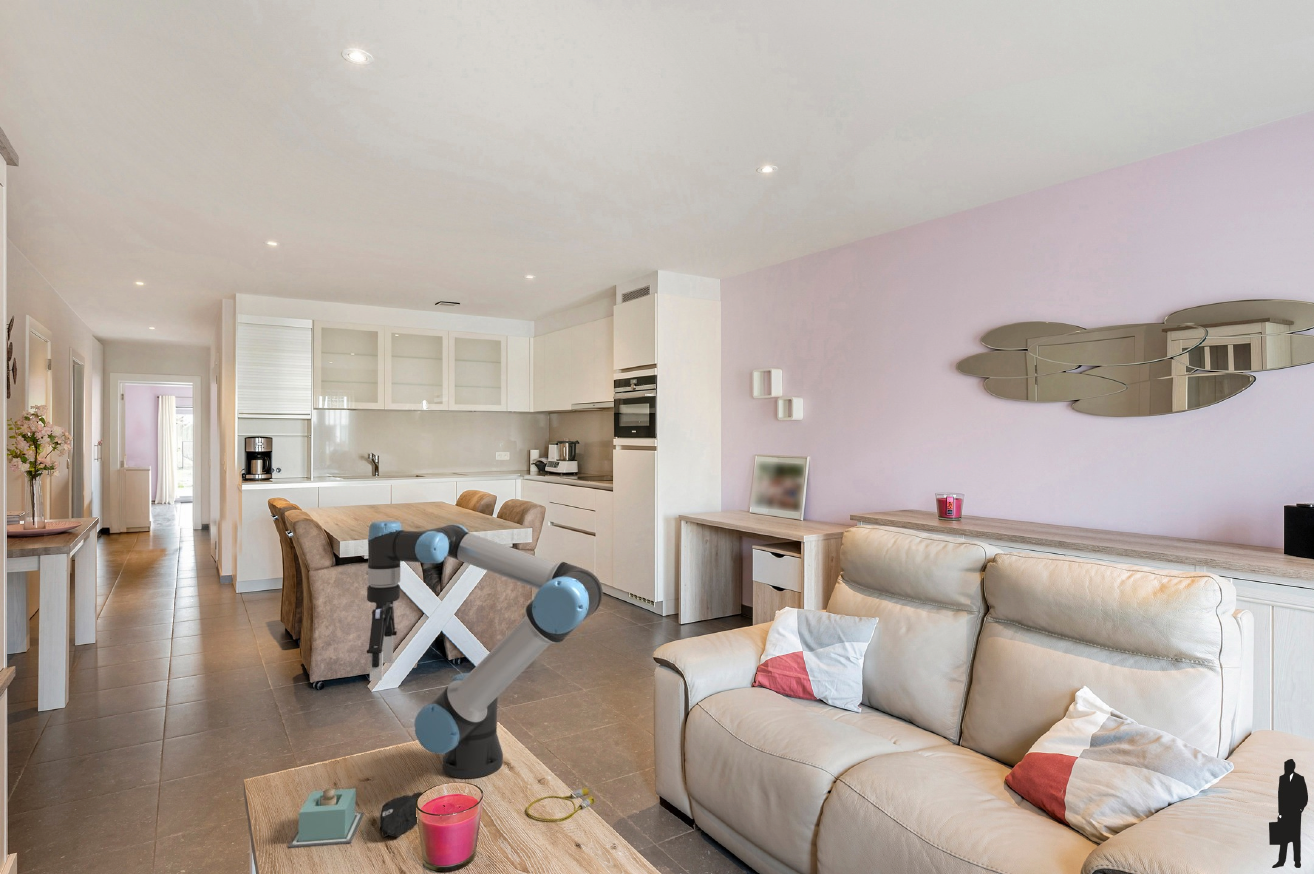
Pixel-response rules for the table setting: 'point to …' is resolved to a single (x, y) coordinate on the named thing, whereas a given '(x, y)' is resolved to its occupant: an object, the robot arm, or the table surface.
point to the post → (328, 797)
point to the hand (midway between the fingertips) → (381, 670)
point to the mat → (345, 840)
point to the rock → (399, 815)
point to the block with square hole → (327, 816)
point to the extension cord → (577, 793)
